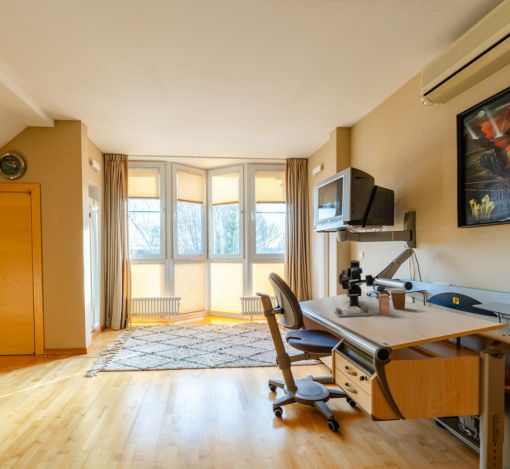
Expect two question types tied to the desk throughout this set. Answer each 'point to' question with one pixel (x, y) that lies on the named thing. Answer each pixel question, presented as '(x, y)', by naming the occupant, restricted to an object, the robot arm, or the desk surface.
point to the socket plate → (352, 312)
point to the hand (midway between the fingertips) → (359, 286)
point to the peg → (384, 304)
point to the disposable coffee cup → (398, 297)
